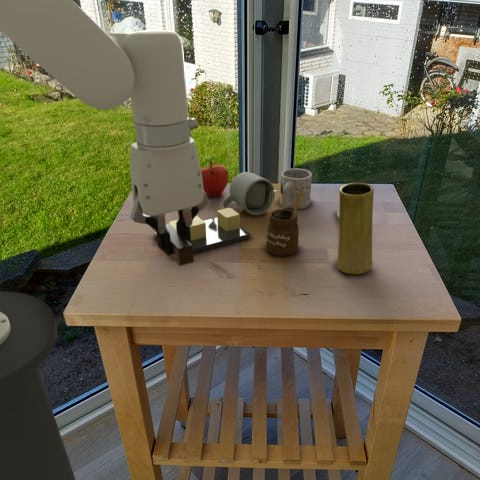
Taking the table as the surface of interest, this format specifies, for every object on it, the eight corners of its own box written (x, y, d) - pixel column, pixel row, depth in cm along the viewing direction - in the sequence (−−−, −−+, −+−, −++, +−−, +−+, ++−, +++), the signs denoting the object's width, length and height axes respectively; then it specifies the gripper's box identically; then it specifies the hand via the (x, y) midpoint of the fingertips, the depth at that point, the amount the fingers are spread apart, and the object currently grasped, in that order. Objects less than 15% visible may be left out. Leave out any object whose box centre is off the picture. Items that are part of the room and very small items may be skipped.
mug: (286, 195, 114) (288, 166, 110) (313, 200, 112) (316, 171, 108) (269, 211, 107) (269, 181, 103) (297, 216, 105) (299, 186, 101)
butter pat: (226, 232, 97) (226, 217, 95) (217, 224, 100) (216, 210, 98) (240, 228, 98) (239, 214, 96) (230, 221, 101) (230, 207, 99)
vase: (375, 273, 85) (380, 194, 76) (339, 276, 85) (339, 198, 77) (368, 255, 90) (372, 179, 81) (334, 258, 90) (334, 183, 82)
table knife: (149, 217, 91) (147, 201, 89) (194, 262, 78) (192, 245, 76) (137, 220, 90) (135, 204, 88) (180, 266, 77) (178, 249, 75)
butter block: (177, 244, 93) (176, 229, 91) (169, 236, 96) (168, 221, 94) (206, 237, 95) (205, 222, 94) (197, 229, 98) (196, 215, 96)
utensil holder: (276, 239, 97) (279, 179, 90) (304, 247, 94) (309, 186, 87) (259, 251, 93) (260, 189, 86) (288, 260, 90) (292, 197, 83)
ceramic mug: (255, 198, 113) (255, 164, 108) (275, 211, 107) (275, 176, 102) (214, 208, 109) (212, 174, 104) (232, 222, 103) (231, 187, 98)
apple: (196, 191, 117) (193, 148, 111) (223, 187, 119) (221, 145, 113) (206, 203, 111) (203, 159, 105) (234, 198, 113) (233, 155, 107)
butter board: (174, 258, 91) (174, 253, 90) (154, 237, 98) (154, 232, 97) (250, 238, 97) (250, 233, 96) (226, 219, 104) (226, 215, 103)
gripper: (202, 118, 75) (209, 229, 86) (98, 135, 69) (119, 252, 80) (225, 130, 70) (229, 246, 81) (115, 149, 63) (135, 272, 74)
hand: (175, 248), depth 80 cm, fingers closed on table knife, 2 cm apart
